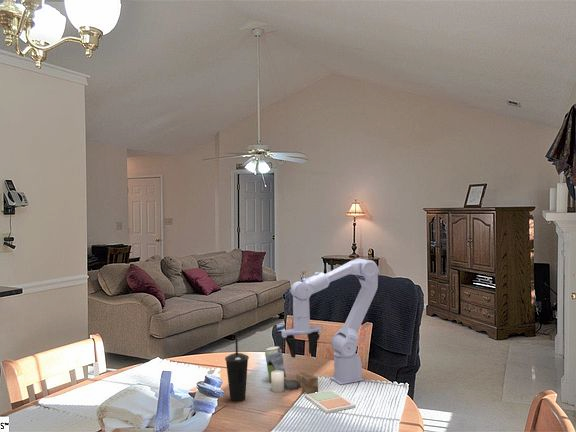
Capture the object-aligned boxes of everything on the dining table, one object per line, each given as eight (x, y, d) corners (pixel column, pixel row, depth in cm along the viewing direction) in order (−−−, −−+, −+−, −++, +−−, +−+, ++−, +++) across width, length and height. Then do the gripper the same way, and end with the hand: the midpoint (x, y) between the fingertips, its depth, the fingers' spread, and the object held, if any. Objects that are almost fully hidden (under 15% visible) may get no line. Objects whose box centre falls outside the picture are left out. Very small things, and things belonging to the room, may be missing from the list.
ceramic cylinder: (281, 386, 175) (280, 369, 175) (286, 390, 171) (286, 373, 171) (269, 388, 173) (269, 371, 173) (274, 392, 169) (274, 375, 169)
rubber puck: (294, 384, 177) (294, 379, 177) (300, 389, 173) (300, 383, 173) (281, 386, 175) (281, 381, 175) (287, 391, 171) (287, 385, 171)
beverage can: (284, 384, 178) (283, 350, 178) (263, 383, 179) (262, 349, 179) (287, 378, 184) (286, 345, 184) (268, 377, 185) (267, 344, 185)
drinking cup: (253, 396, 166) (251, 335, 166) (243, 404, 159) (242, 341, 159) (232, 394, 169) (230, 334, 169) (221, 402, 162) (220, 339, 162)
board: (331, 392, 169) (331, 389, 169) (355, 407, 155) (355, 404, 155) (304, 397, 164) (304, 394, 164) (326, 413, 151) (326, 410, 151)
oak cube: (306, 382, 179) (306, 371, 179) (312, 386, 175) (311, 374, 175) (296, 384, 177) (296, 373, 177) (301, 388, 173) (301, 376, 173)
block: (312, 388, 172) (312, 374, 172) (318, 392, 169) (317, 377, 169) (302, 390, 171) (301, 375, 171) (307, 394, 167) (307, 379, 167)
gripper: (314, 312, 182) (315, 349, 182) (277, 316, 176) (278, 355, 176) (324, 315, 176) (324, 354, 176) (285, 320, 170) (286, 360, 170)
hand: (302, 355), depth 176 cm, fingers open, 6 cm apart
